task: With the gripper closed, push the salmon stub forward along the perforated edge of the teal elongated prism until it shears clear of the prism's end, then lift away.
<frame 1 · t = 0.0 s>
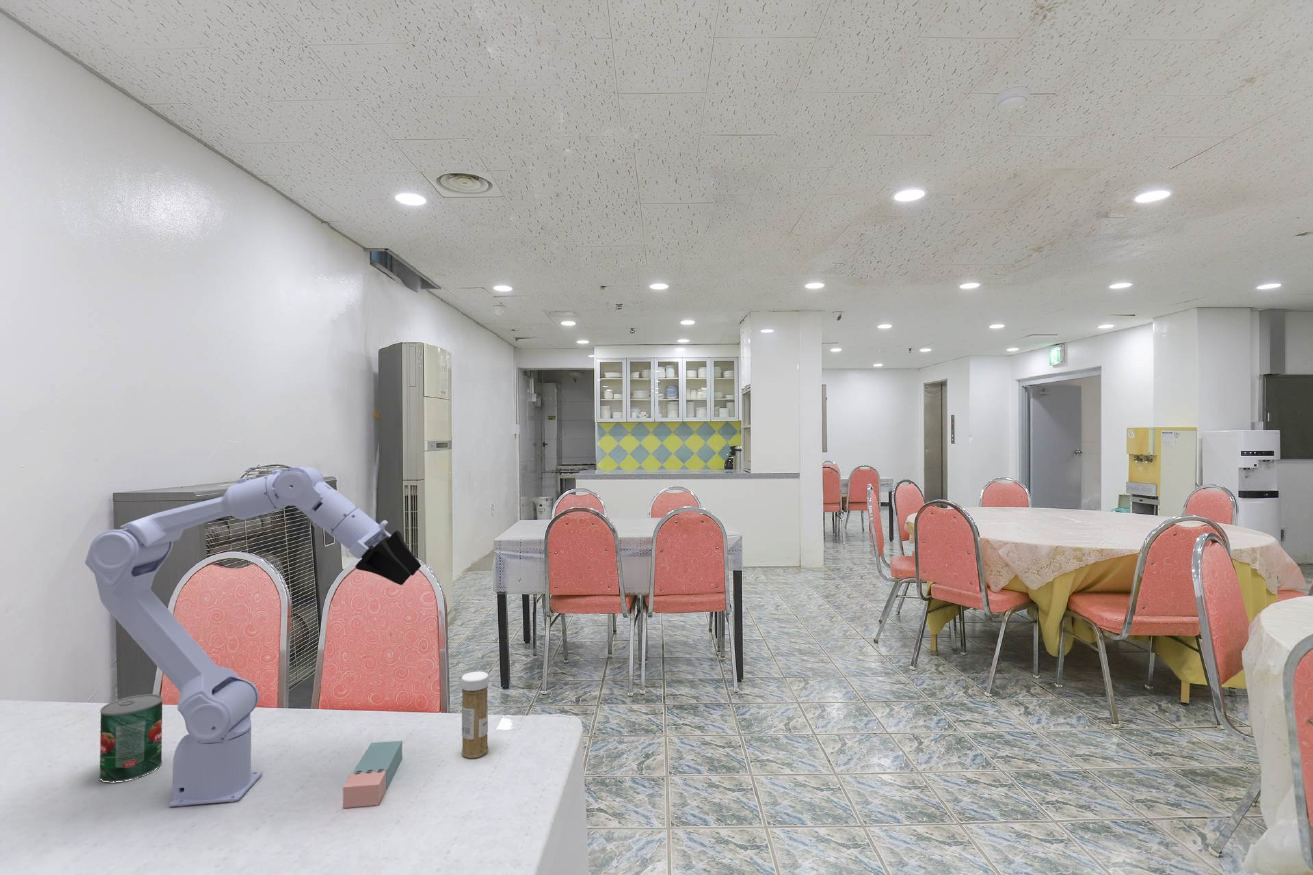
hand: (412, 575, 102), 32 cm above the table, tool tilted 50°, fingers open, 7 cm apart
stub: (365, 788, 94), point 2 cm above the table, slide at 0.0 cm
sprinkles bottle: (474, 753, 109), on the table
teal elongated prism: (378, 774, 101), on the table
canned tomato: (131, 771, 103), on the table
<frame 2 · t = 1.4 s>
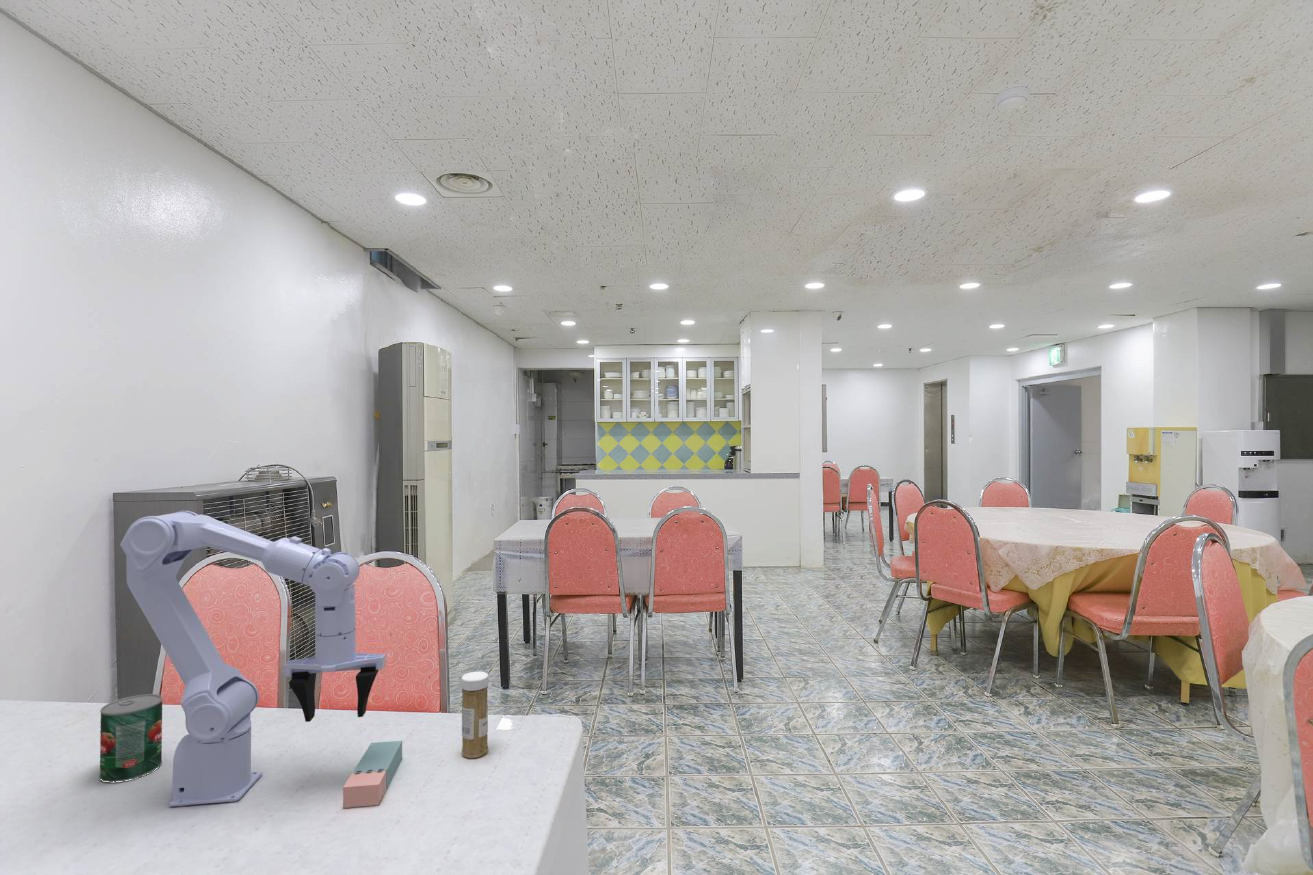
hand: (336, 716, 99), 10 cm above the table, tool pointing down, fingers open, 7 cm apart
nothing on the table moved.
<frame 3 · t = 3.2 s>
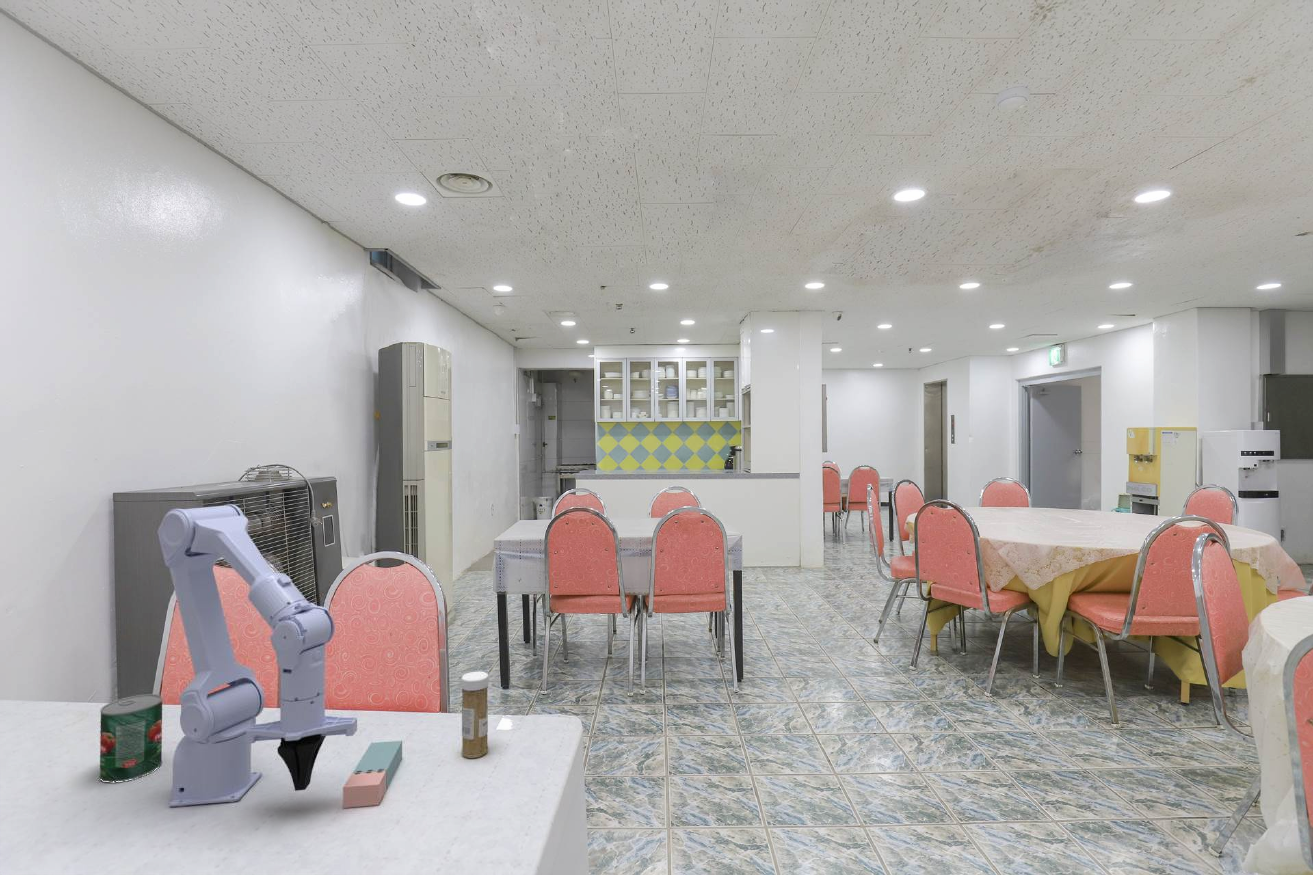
hand: (302, 786, 92), 3 cm above the table, tool pointing down, fingers closed
nothing on the table moved.
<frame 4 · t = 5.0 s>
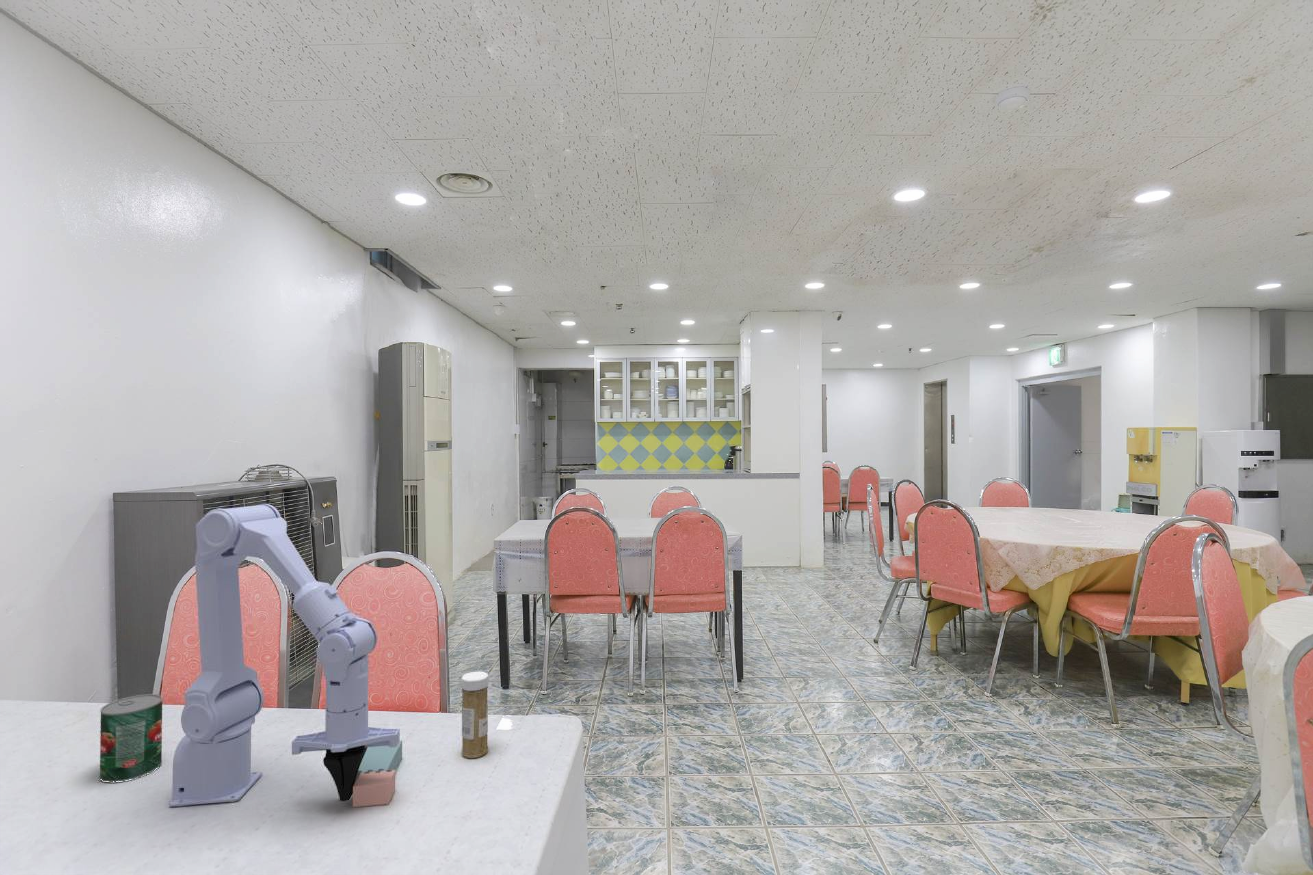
hand: (346, 797, 93), 1 cm above the table, tool pointing down, fingers closed
stub: (374, 787, 94), point 2 cm above the table, slide at 1.4 cm, touching gripper
everything else where it was.
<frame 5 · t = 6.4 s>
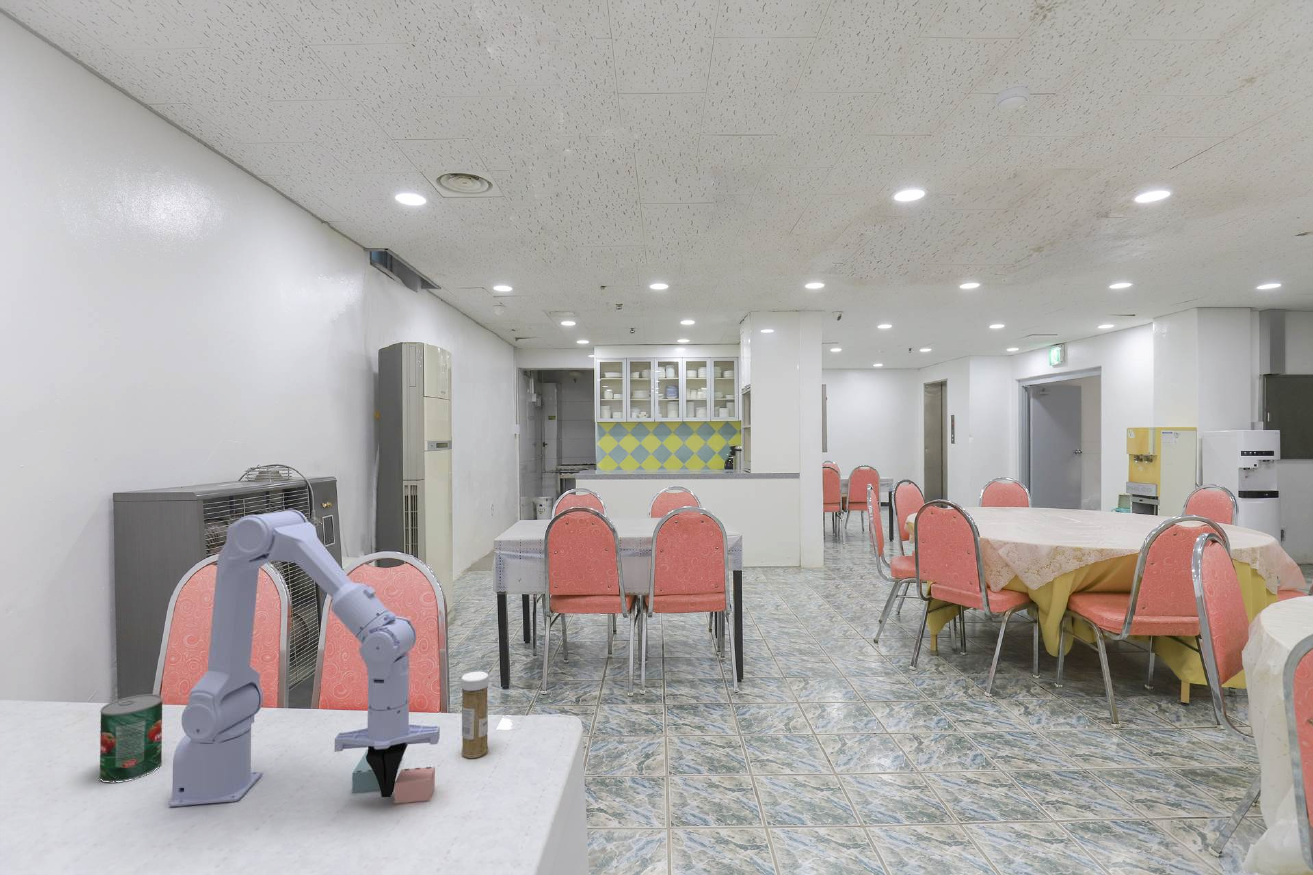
hand: (387, 793, 94), 1 cm above the table, tool pointing down, fingers closed
stub: (415, 784, 95), point 2 cm above the table, slide at 7.2 cm, touching gripper
everything else where it was.
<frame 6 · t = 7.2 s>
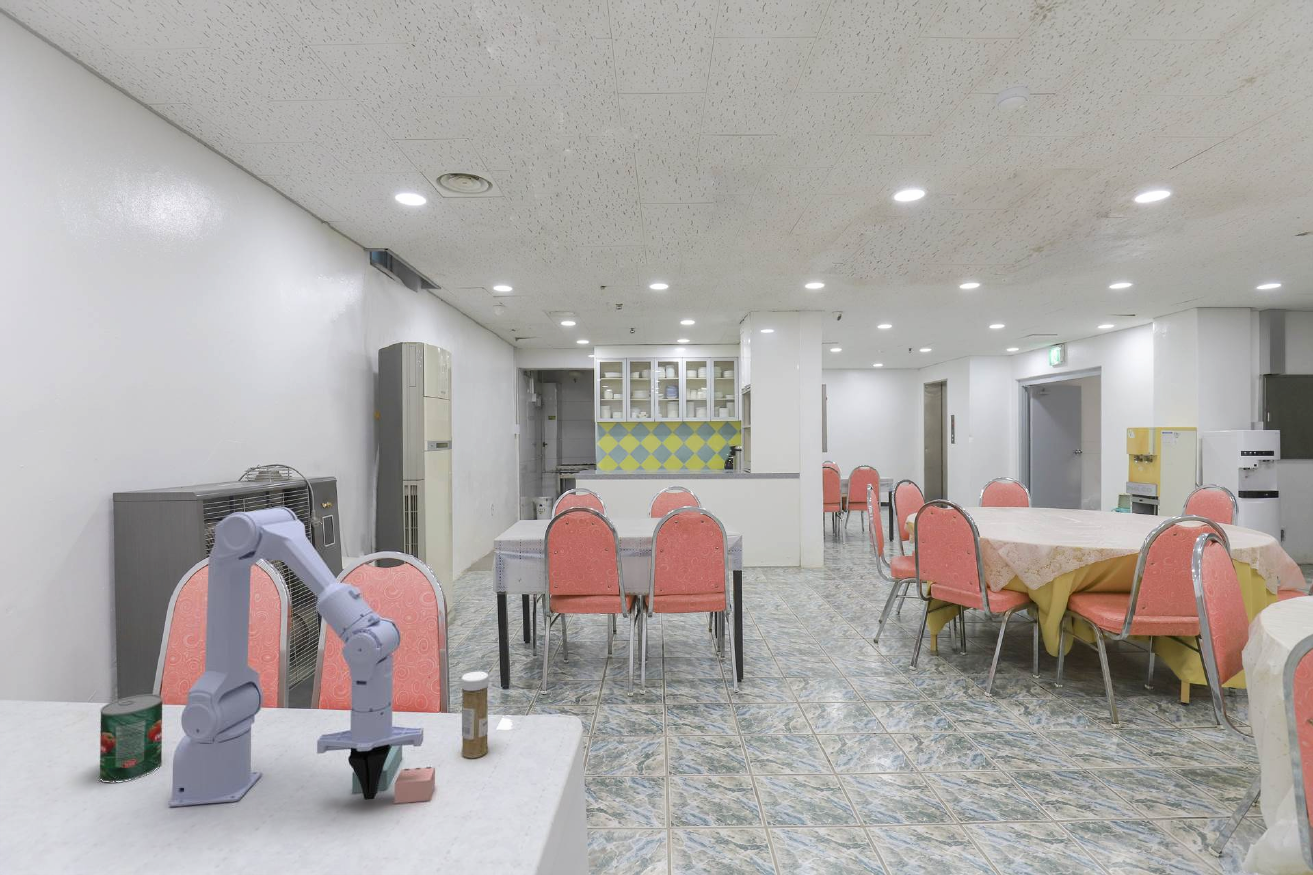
hand: (370, 795, 93), 1 cm above the table, tool pointing down, fingers closed
stub: (415, 784, 95), point 2 cm above the table, slide at 7.2 cm
everything else where it was.
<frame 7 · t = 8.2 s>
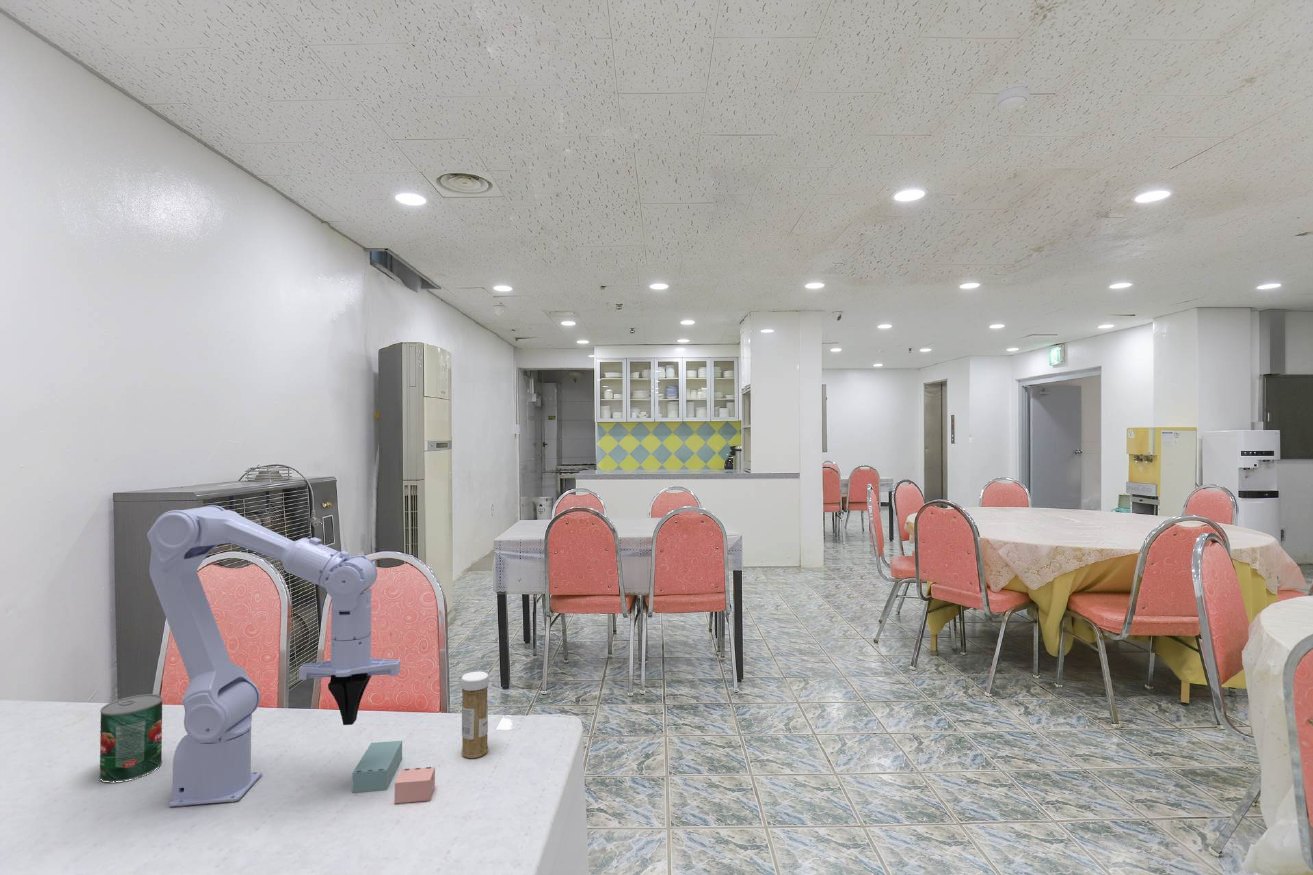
hand: (349, 722, 98), 10 cm above the table, tool pointing down, fingers closed
nothing on the table moved.
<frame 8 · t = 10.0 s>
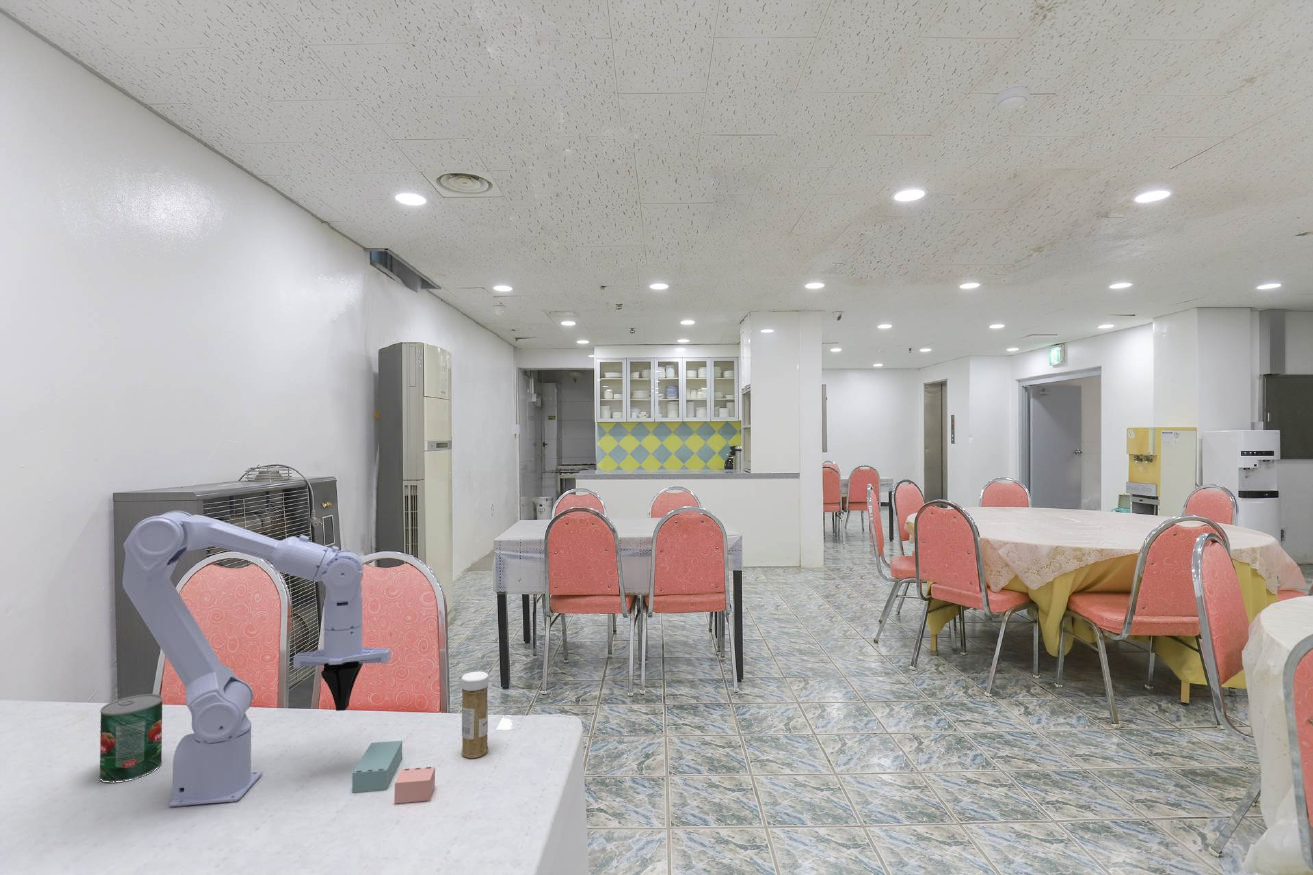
hand: (342, 708, 103), 10 cm above the table, tool pointing down, fingers closed
nothing on the table moved.
at the end: stub slide at 7.2 cm; the gripper is holding nothing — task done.
